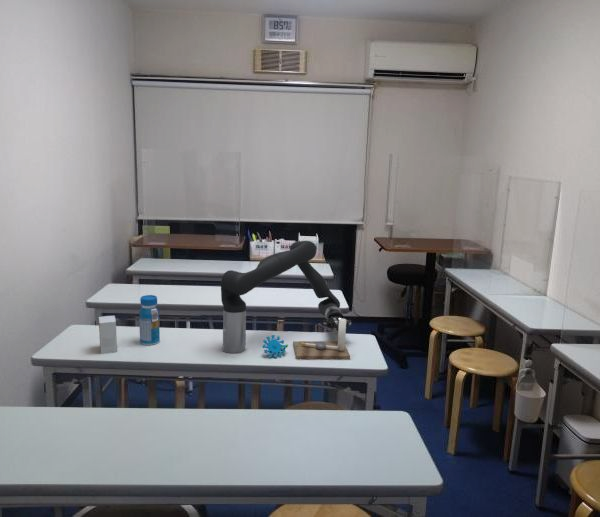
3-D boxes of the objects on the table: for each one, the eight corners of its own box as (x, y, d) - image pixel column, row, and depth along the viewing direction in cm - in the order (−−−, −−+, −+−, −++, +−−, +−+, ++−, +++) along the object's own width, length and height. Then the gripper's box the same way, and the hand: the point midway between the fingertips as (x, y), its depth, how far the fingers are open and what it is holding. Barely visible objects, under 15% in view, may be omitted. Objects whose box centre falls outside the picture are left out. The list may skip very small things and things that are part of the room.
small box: (99, 346, 210) (98, 316, 208) (116, 344, 213) (114, 315, 210) (100, 353, 203) (99, 322, 201) (117, 352, 206) (116, 321, 203)
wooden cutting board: (296, 359, 205) (296, 355, 205) (292, 344, 220) (293, 341, 220) (350, 359, 207) (350, 355, 207) (343, 344, 223) (343, 341, 222)
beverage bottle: (138, 346, 212) (137, 300, 208) (140, 339, 220) (138, 294, 216) (159, 345, 214) (158, 299, 210) (160, 338, 222) (159, 293, 218)
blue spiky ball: (264, 356, 203) (262, 333, 208) (260, 362, 207) (258, 339, 212) (290, 357, 207) (287, 334, 212) (285, 363, 211) (282, 340, 216)
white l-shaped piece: (300, 347, 213) (301, 317, 210) (302, 343, 217) (303, 314, 214) (344, 352, 209) (345, 321, 207) (345, 348, 214) (346, 318, 211)
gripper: (320, 308, 230) (325, 321, 213) (349, 308, 231) (356, 321, 214) (319, 324, 232) (324, 338, 215) (348, 324, 233) (355, 338, 216)
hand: (340, 329), depth 215 cm, fingers closed
